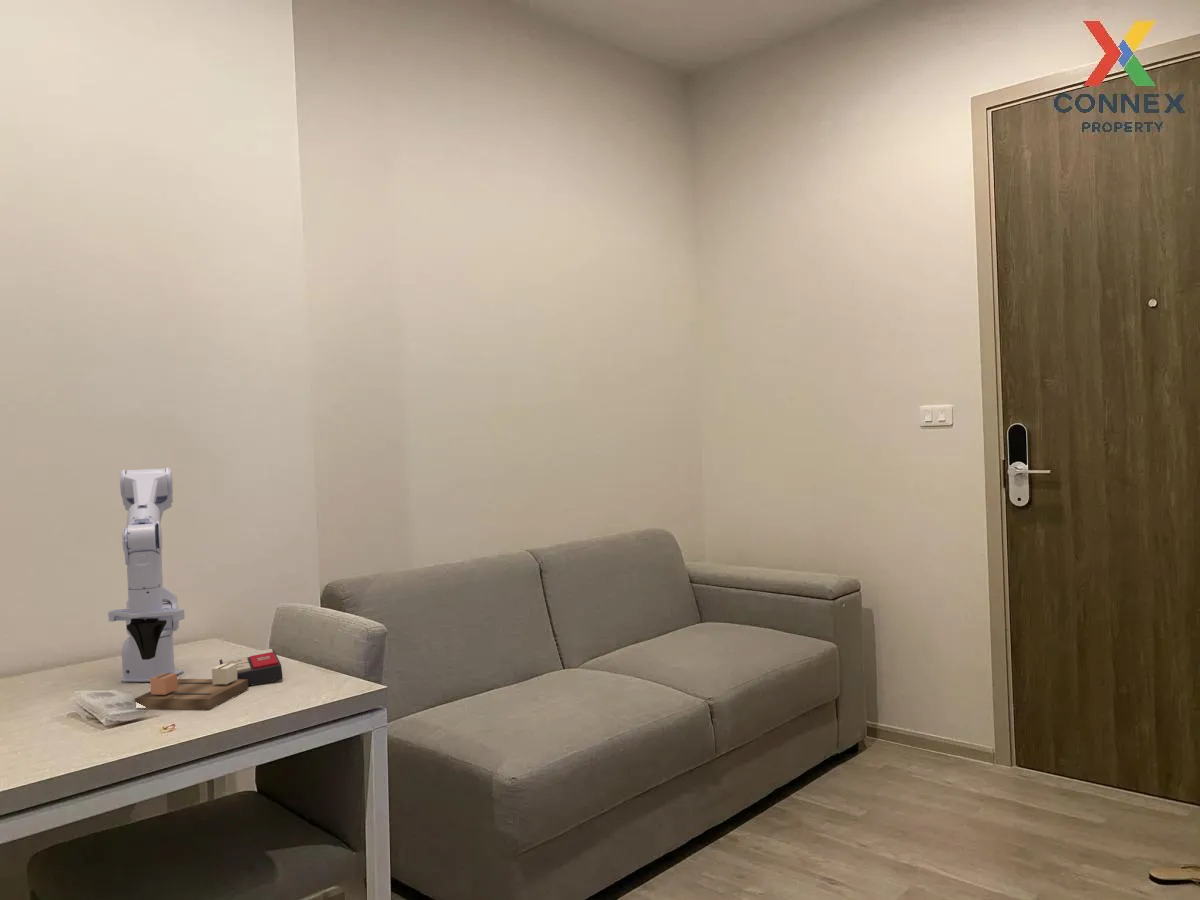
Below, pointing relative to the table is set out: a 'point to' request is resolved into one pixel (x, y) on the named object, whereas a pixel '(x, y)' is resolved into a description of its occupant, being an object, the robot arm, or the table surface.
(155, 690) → the terracotta fader
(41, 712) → the table surface
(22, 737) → the table surface
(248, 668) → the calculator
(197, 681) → the mixer panel
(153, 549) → the robot arm
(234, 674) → the ivory fader
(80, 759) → the table surface
